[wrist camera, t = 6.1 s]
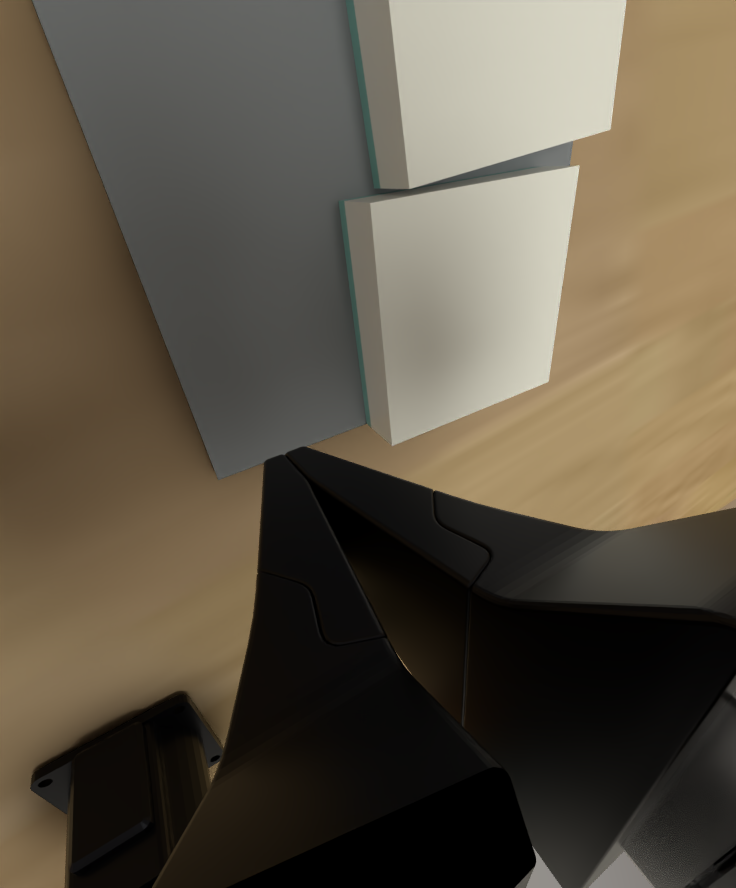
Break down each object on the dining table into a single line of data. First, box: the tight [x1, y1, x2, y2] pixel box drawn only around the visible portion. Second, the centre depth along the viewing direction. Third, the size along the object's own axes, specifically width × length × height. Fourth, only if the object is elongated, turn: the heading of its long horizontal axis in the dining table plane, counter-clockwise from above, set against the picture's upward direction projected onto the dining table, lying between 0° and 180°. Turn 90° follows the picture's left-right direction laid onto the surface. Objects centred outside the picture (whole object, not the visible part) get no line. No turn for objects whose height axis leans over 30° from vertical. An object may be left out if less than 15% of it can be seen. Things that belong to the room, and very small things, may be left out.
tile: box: [339, 165, 580, 446], centre depth 16 cm, size 8×2×8 cm
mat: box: [32, 0, 573, 480], centre depth 14 cm, size 16×16×1 cm
